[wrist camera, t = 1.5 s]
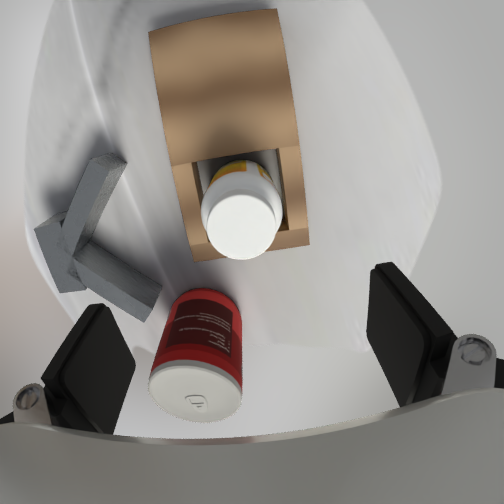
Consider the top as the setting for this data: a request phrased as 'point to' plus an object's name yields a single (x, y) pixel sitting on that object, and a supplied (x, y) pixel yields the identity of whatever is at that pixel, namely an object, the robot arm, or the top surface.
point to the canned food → (199, 358)
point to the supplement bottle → (241, 210)
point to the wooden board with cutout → (228, 111)
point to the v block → (94, 245)
